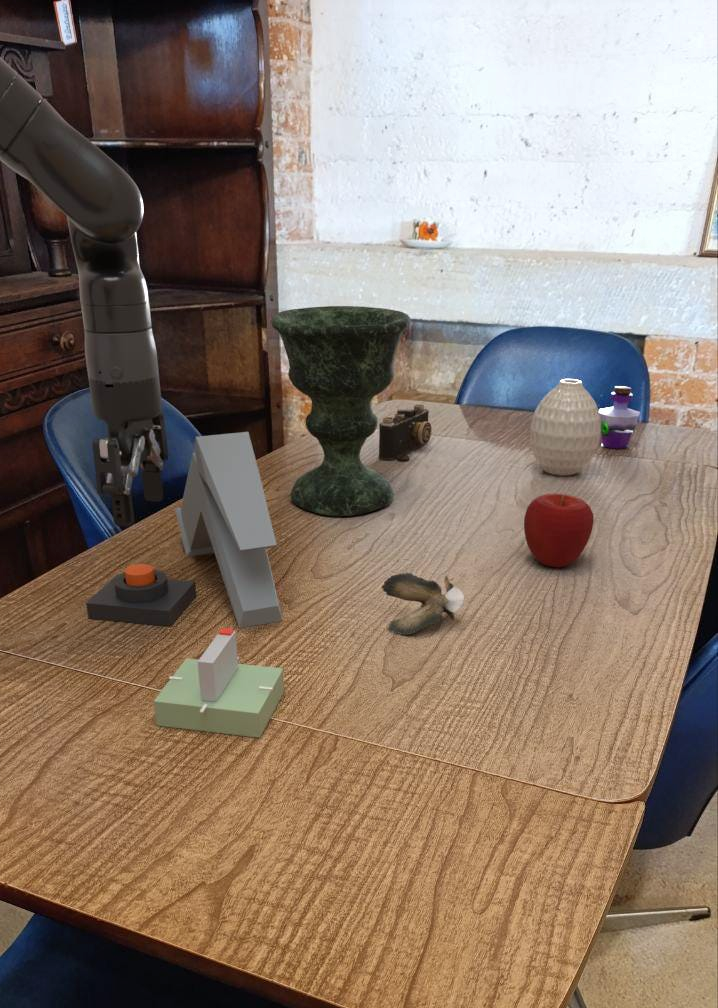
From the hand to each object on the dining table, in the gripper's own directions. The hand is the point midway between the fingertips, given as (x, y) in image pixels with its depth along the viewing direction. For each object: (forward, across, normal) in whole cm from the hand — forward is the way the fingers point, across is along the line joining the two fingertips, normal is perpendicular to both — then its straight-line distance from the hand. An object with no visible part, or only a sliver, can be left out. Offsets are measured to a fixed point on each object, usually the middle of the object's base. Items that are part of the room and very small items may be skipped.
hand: (139, 512), depth 103 cm
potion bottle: (+14, -94, +62) cm, 113 cm away
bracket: (+14, -14, +5) cm, 21 cm away
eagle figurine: (+14, -6, +33) cm, 37 cm away
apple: (+14, -29, +50) cm, 59 cm away
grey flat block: (+11, +18, +15) cm, 26 cm away
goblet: (+14, -50, +14) cm, 54 cm away
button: (+11, -3, -3) cm, 12 cm away
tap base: (+14, +18, +15) cm, 27 cm away
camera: (+14, -81, +21) cm, 85 cm away
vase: (+14, -74, +51) cm, 91 cm away
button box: (+14, -3, -3) cm, 15 cm away
